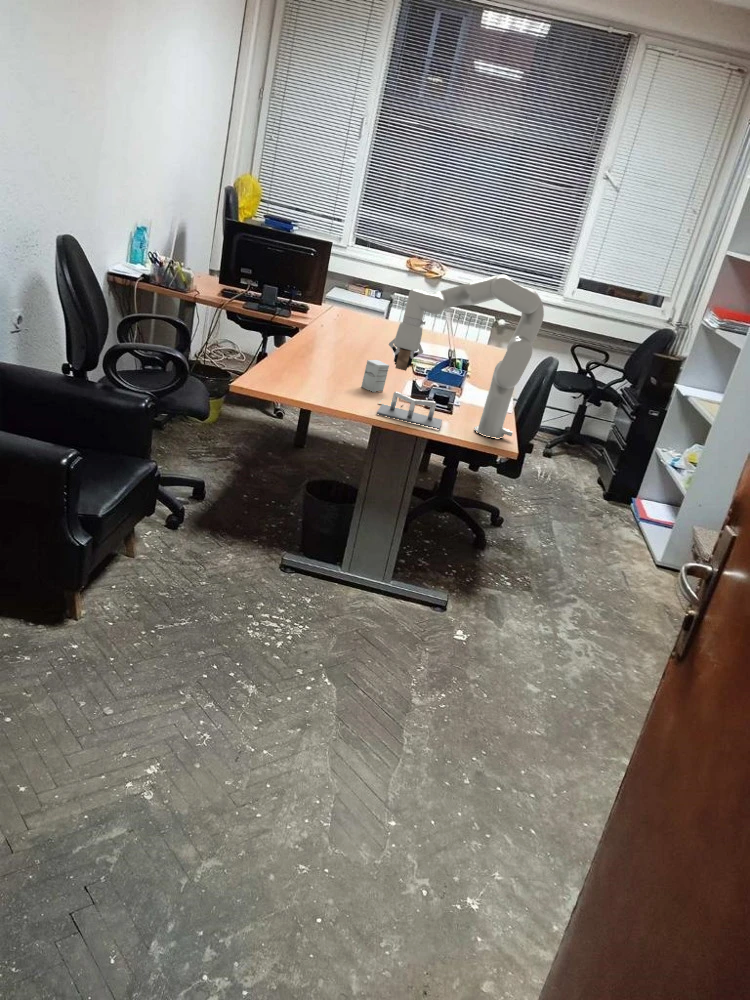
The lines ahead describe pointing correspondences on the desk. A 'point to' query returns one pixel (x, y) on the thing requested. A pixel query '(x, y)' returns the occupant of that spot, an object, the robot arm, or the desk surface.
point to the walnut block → (403, 359)
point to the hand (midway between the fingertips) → (401, 365)
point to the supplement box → (375, 375)
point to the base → (415, 418)
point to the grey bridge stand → (413, 404)
